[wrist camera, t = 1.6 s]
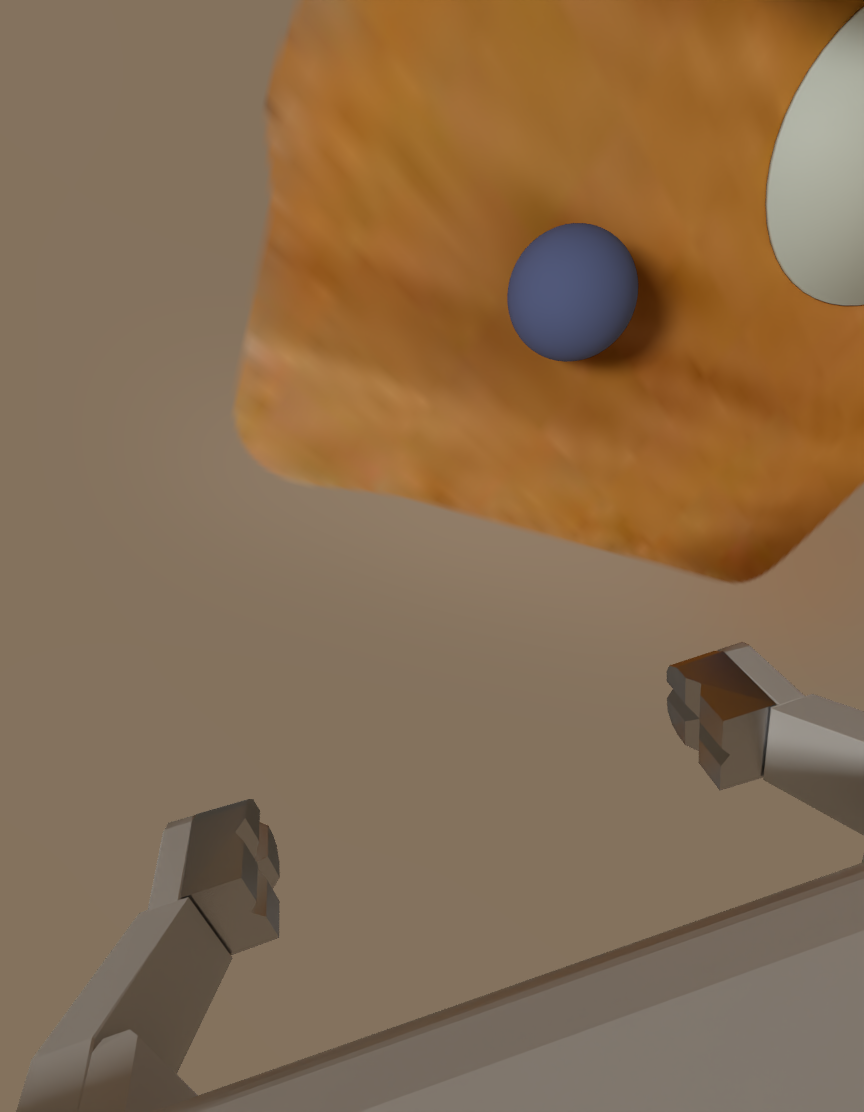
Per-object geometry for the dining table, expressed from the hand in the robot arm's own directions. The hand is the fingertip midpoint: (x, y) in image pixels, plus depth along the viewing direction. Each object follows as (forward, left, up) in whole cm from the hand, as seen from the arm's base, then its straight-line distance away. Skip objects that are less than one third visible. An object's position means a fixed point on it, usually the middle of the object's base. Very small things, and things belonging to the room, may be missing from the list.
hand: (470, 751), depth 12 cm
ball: (-10, -2, -20) cm, 22 cm away
